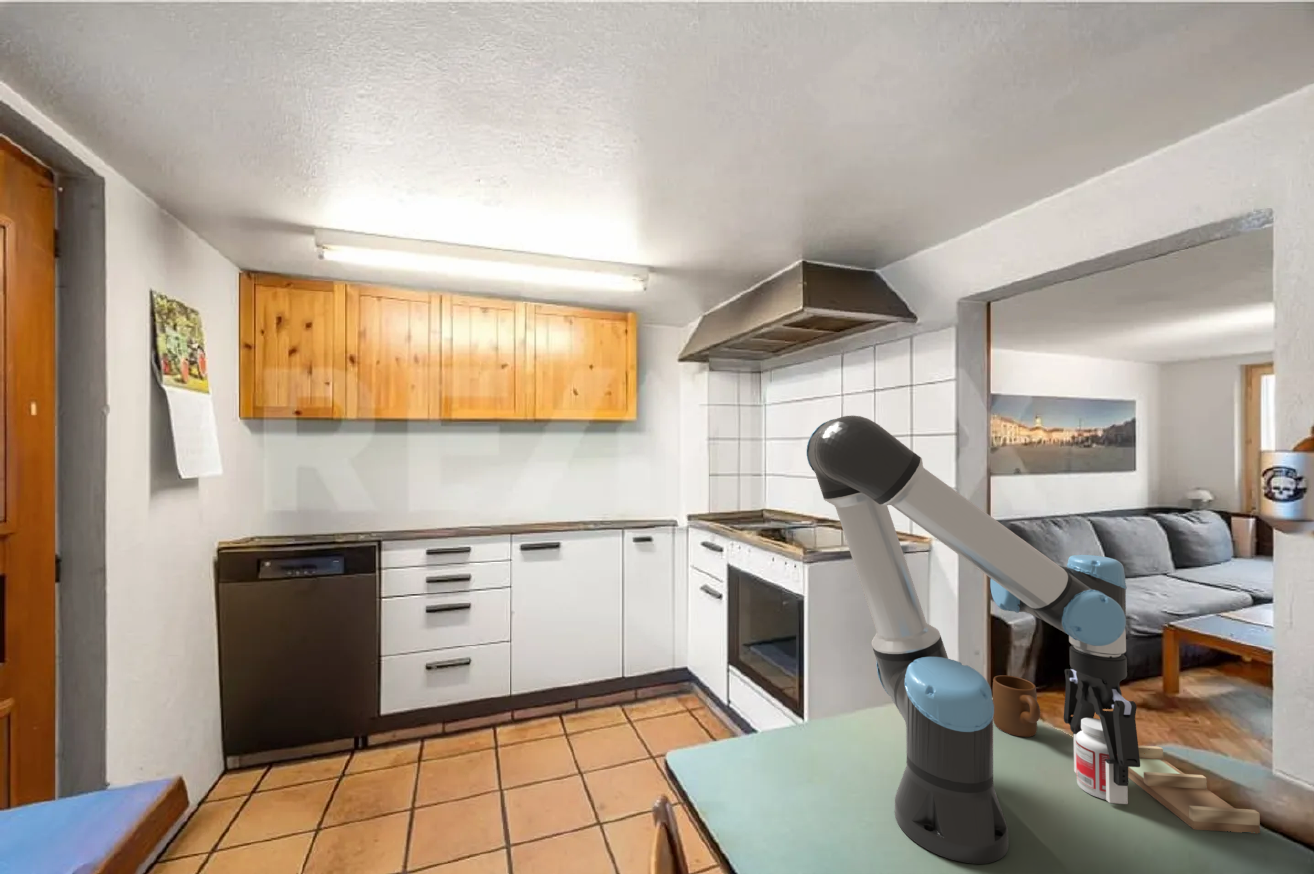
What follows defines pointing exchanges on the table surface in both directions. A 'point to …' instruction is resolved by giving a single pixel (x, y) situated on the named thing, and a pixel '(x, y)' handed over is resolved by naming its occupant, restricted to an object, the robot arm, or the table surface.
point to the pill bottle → (1091, 758)
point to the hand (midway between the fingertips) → (1099, 786)
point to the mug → (1015, 706)
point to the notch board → (1189, 795)
